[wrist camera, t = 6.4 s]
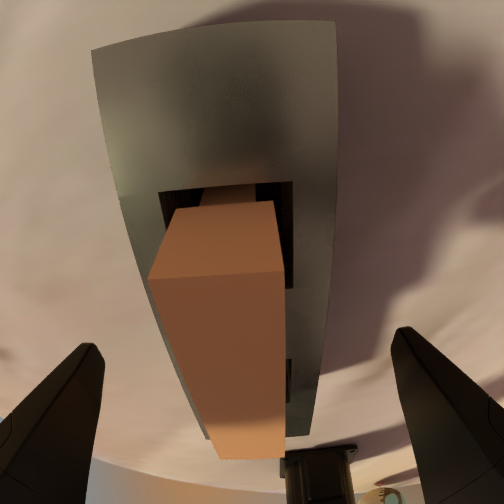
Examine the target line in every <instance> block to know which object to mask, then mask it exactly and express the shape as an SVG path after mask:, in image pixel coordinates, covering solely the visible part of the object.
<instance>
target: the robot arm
mask: <svg viewBox="0 0 504 504" xmlns="http://www.w3.org/2000/svg"><path fill="white" fill-rule="evenodd" d="M391 357H392V362H393V367H394V372H395V378H396V383H397V389H398V394H399V399H400V403H401V406H402V410H403V413H404V417H405V420H406V424H407V428H408V431H409V435H410V439H411V443H412V447H413V451H414V455H415V459H416V463H417V468H418V472H419V476H420V481H421V486H422V490H423V495H424V500H425V504H504V408H503V407H502V406H500V405H499V404H498V403H497V402H496V401H495V400H494V399H493V398H492V397H489V395H488V394H487V393H486V392H485V391H484V390H483V389H482V388H481V387H479V386H478V385H477V384H476V383H475V382H474V381H473V380H472V379H471V378H469V377H468V376H467V375H466V374H465V373H464V372H463V371H462V370H460V369H459V368H458V367H457V366H456V365H455V364H454V363H453V362H451V361H450V360H449V359H448V358H447V357H446V356H445V355H443V354H442V353H441V352H440V351H439V350H438V349H437V348H435V347H434V346H433V345H432V344H431V343H430V342H428V341H427V340H426V339H425V338H424V337H423V336H421V335H420V334H419V333H418V332H417V331H416V330H414V329H413V328H412V327H410V326H407V327H400V328H398V329H397V330H396V332H395V335H394V338H393V341H392V344H391ZM104 372H105V361H104V358H103V357H102V355H101V353H100V351H99V350H98V348H97V346H96V345H95V344H94V343H82V344H80V345H79V346H78V347H77V348H76V349H75V350H74V351H73V352H72V353H71V354H70V355H69V356H68V357H66V358H65V359H64V360H63V361H62V362H61V363H60V364H59V365H58V366H57V367H56V368H55V369H54V370H53V371H52V372H51V373H50V374H49V375H48V376H47V377H46V378H45V379H44V380H43V381H42V382H41V383H40V384H39V385H38V386H37V387H36V388H35V389H34V390H33V391H32V392H31V393H30V394H29V395H28V396H27V397H26V398H25V399H24V400H23V401H22V402H21V403H20V404H19V405H18V406H17V407H16V408H15V409H14V410H13V411H12V413H10V414H9V415H8V416H7V417H6V418H5V419H4V420H3V421H2V422H1V423H0V504H85V500H86V492H87V484H88V476H89V470H90V463H91V457H92V451H93V445H94V439H95V434H96V429H97V423H98V418H99V413H100V407H101V399H102V389H103V380H104ZM357 451H358V446H357V445H350V446H344V447H338V448H331V449H323V450H315V451H306V452H295V453H285V457H281V458H280V478H285V483H286V499H287V504H355V498H354V491H353V485H352V478H351V472H350V466H349V465H350V464H351V462H352V460H353V458H354V457H355V455H356V453H357Z"/></svg>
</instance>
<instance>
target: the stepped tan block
mask: <svg viewBox="0 0 504 504" xmlns="http://www.w3.org/2000/svg"><path fill="white" fill-rule="evenodd" d="M147 280H148V283H149V286H150V289H151V292H152V295H153V298H154V301H155V304H156V307H157V310H158V312H159V315H160V318H161V321H162V324H163V326H164V329H165V332H166V335H167V337H168V340H169V343H170V345H171V348H172V351H173V353H174V356H175V358H176V361H177V363H178V366H179V368H180V371H181V373H182V376H183V378H184V381H185V383H186V385H187V388H188V390H189V392H190V395H191V397H192V399H193V402H194V404H195V406H196V409H197V411H198V413H199V415H200V417H201V420H202V422H203V424H204V426H205V428H206V431H207V433H208V435H209V437H210V439H211V441H212V443H213V445H214V447H215V449H216V451H217V453H218V456H219V458H220V459H264V458H281V457H285V404H286V345H285V278H284V265H283V259H282V252H281V246H280V240H279V233H278V227H277V221H276V215H275V209H274V203H273V201H262V202H256V190H255V183H253V184H239V185H226V186H214V187H205V189H204V192H203V195H202V198H201V202H200V205H199V207H189V208H179V209H176V210H175V213H174V215H173V217H172V220H171V222H170V224H169V227H168V229H167V231H166V234H165V236H164V239H163V241H162V243H161V246H160V248H159V251H158V253H157V256H156V258H155V261H154V263H153V266H152V268H151V271H150V274H149V276H148V279H147Z"/></svg>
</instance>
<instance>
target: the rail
mask: <svg viewBox="0 0 504 504" xmlns="http://www.w3.org/2000/svg"><path fill="white" fill-rule="evenodd" d="M91 55H92V63H93V71H94V78H95V85H96V91H97V98H98V104H99V110H100V115H101V121H102V126H103V131H104V137H105V142H106V146H107V151H108V156H109V160H110V165H111V169H112V174H113V178H114V182H115V186H116V190H117V194H118V198H119V202H120V206H121V210H122V214H123V217H124V221H125V225H126V228H127V232H128V235H129V239H130V242H131V246H132V249H133V252H134V256H135V259H136V262H137V265H138V269H139V272H140V275H141V278H142V281H143V284H144V287H145V290H146V293H147V296H148V299H149V302H150V305H151V308H152V310H153V313H154V316H155V319H156V322H157V324H158V327H159V330H160V332H161V335H162V338H163V340H164V343H165V346H166V348H167V351H168V353H169V356H170V358H171V361H172V363H173V366H174V368H175V371H176V373H177V376H178V378H179V380H180V383H181V385H182V387H183V390H184V392H185V394H186V397H187V399H188V401H189V403H190V406H191V408H192V410H193V412H194V414H195V417H196V419H197V421H198V423H199V425H200V427H201V429H202V432H203V434H204V436H205V438H206V439H208V440H211V439H210V437H209V435H208V433H207V431H206V428H205V426H204V424H203V422H202V420H201V417H200V415H199V413H198V411H197V409H196V406H195V404H194V402H193V399H192V397H191V395H190V392H189V390H188V388H187V385H186V383H185V381H184V378H183V376H182V373H181V371H180V368H179V366H178V363H177V361H176V358H175V356H174V353H173V351H172V348H171V345H170V343H169V340H168V337H167V335H166V332H165V329H164V326H163V324H162V321H161V318H160V315H159V312H158V310H157V307H156V304H155V301H154V298H153V295H152V292H151V289H150V286H149V283H148V280H147V279H148V276H149V274H150V271H151V268H152V266H153V263H154V261H155V258H156V256H157V253H158V251H159V248H160V246H161V243H162V241H163V239H164V236H165V234H166V231H167V229H168V227H169V224H170V222H171V220H172V217H173V215H174V213H175V210H176V209H179V208H189V207H193V204H192V198H191V192H190V189H192V188H203V187H214V186H226V185H239V184H253V183H268V182H281V205H282V227H278V233H279V240H280V246H281V252H282V259H283V265H284V278H285V345H286V404H285V437H295V436H305V435H309V433H310V428H311V422H312V417H313V411H314V405H315V399H316V393H317V387H318V380H319V373H320V367H321V360H322V352H323V345H324V337H325V329H326V320H327V312H328V302H329V293H330V283H331V272H332V260H333V247H334V233H335V217H336V198H337V173H338V64H337V40H336V23H335V21H320V20H265V21H247V22H234V23H223V24H214V25H206V26H198V27H192V28H185V29H179V30H173V31H168V32H163V33H157V34H153V35H148V36H143V37H139V38H135V39H131V40H127V41H123V42H119V43H115V44H112V45H108V46H105V47H101V48H98V49H95V50H91Z"/></svg>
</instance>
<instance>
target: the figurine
mask: <svg viewBox="0 0 504 504" xmlns="http://www.w3.org/2000/svg"><path fill="white" fill-rule="evenodd" d="M382 483H383V482H381V483H378V484H376V485H378V486H380V485H381V484H382ZM358 504H405V499H404V497H403V495H402V494H401V493H400V492H399V491H397V490H395V489H392V488H378V489H374V490H372V491H370V492H368V493H366V494H365V495H364V496H363V497H362V498H361V499H360V500H359V502H358Z"/></svg>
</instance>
